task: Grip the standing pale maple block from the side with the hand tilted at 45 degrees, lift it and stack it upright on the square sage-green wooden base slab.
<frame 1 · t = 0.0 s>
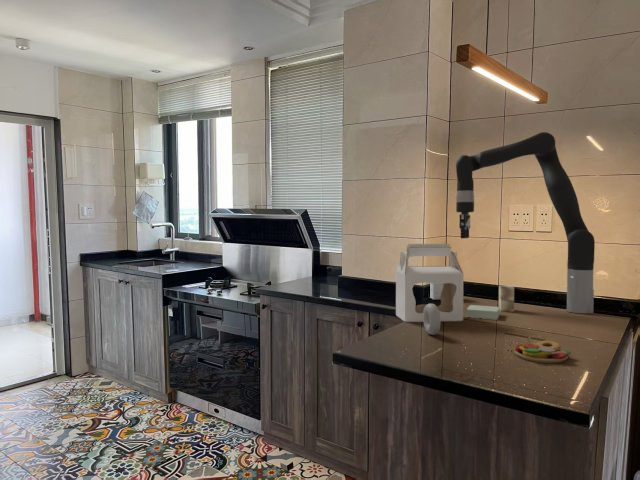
hand: (464, 238, 210), 29 cm above the countertop, tool pointing down, fingers open, 8 cm apart
gable box: (428, 318, 179), on the countertop
toy food set: (541, 358, 126), on the countertop
supplement box: (440, 298, 227), on the countertop
maple block: (506, 310, 195), on the countertop
base slab: (483, 317, 183), on the countertop
donut: (431, 335, 151), on the countertop
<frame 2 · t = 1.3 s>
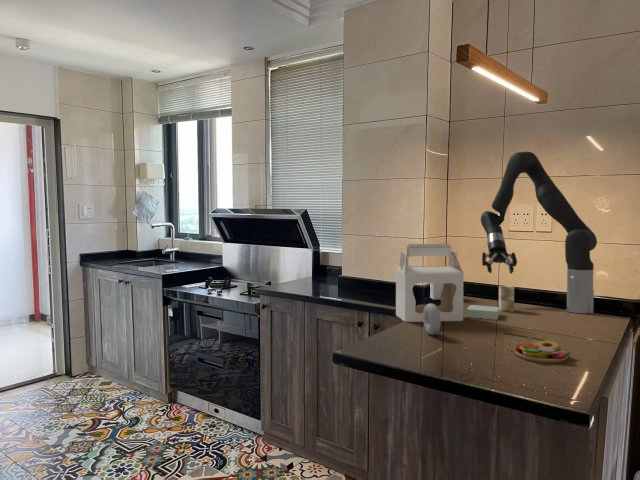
hand: (501, 272, 206), 15 cm above the countertop, tool tilted 45°, fingers open, 8 cm apart
nothing on the countertop moved.
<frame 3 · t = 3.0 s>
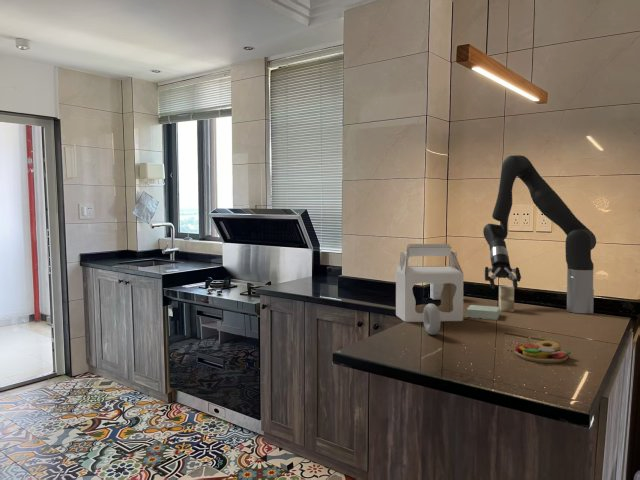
hand: (504, 287, 199), 9 cm above the countertop, tool tilted 45°, fingers open, 8 cm apart
nothing on the countertop moved.
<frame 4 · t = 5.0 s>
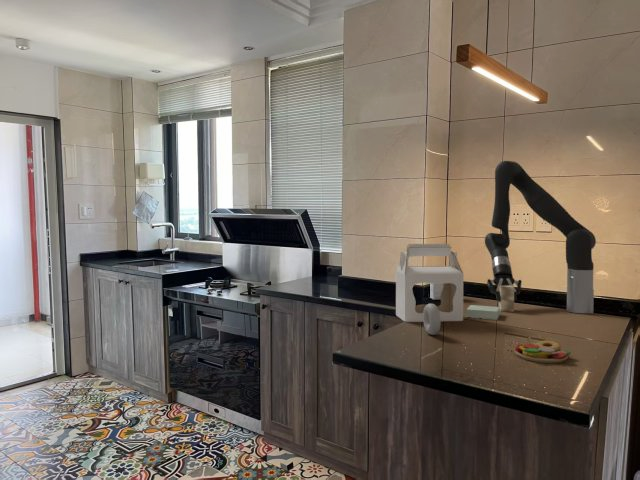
hand: (507, 300, 193), 4 cm above the countertop, tool tilted 45°, fingers closed on maple block, 5 cm apart
maple block: (506, 310, 195), on the countertop, touching gripper
everything else where it was.
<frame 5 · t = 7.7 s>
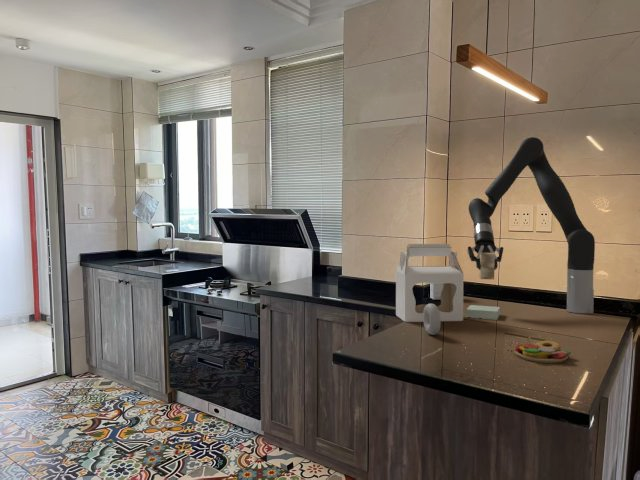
hand: (487, 268, 183), 18 cm above the countertop, tool tilted 45°, fingers closed on maple block, 5 cm apart
maple block: (486, 278, 186), point 14 cm above the countertop, touching gripper
everything else where it was.
when the fingers open (9 cm above the countertop, at t = 10.6 s): maple block drops 2 cm, resting on base slab.
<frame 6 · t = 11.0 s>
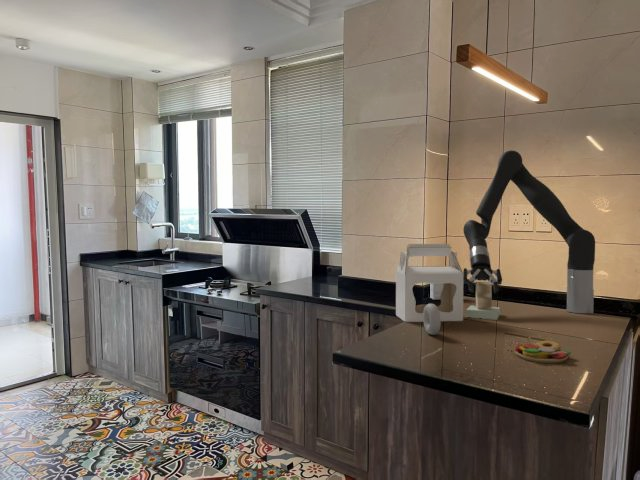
hand: (483, 291, 181), 10 cm above the countertop, tool tilted 45°, fingers open, 8 cm apart
maple block: (483, 308, 183), point 3 cm above the countertop, touching base slab
base slab: (483, 317, 183), on the countertop, touching maple block
everything else where it was.
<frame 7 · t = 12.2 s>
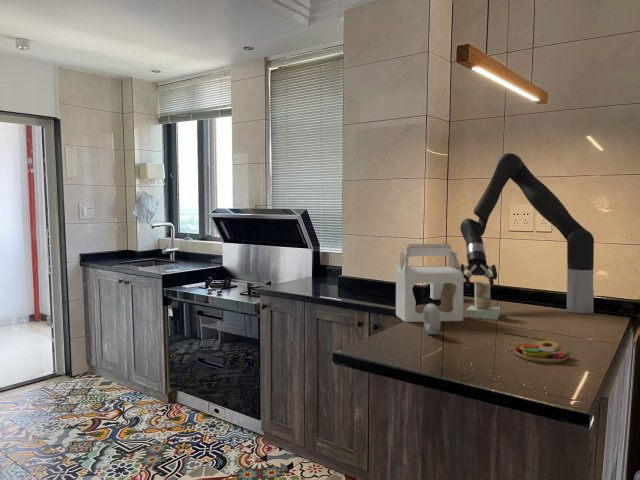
hand: (480, 286, 191), 11 cm above the countertop, tool tilted 45°, fingers open, 8 cm apart
nothing on the countertop moved.
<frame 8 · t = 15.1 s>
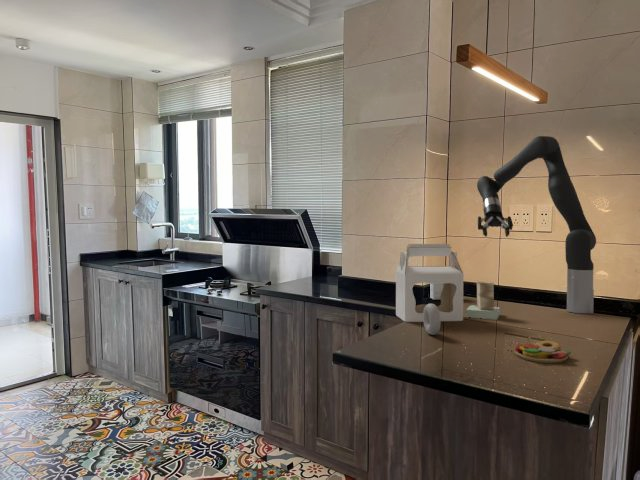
hand: (496, 235, 203), 31 cm above the countertop, tool tilted 45°, fingers open, 8 cm apart
maple block: (485, 308, 182), point 3 cm above the countertop, touching base slab
everything else where it was.
at the end: maple block inside the target area on the base slab (0.8 cm from its centre), point 3.5 cm above the base slab's base; maple block tilted 1°; the gripper is holding nothing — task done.
